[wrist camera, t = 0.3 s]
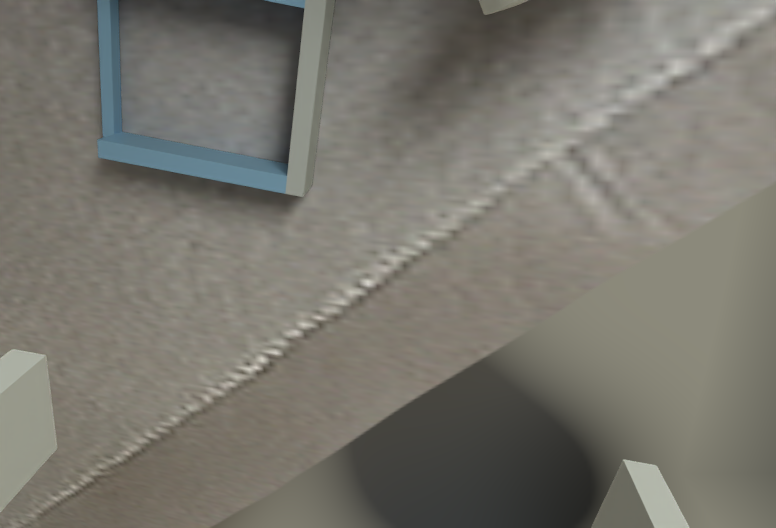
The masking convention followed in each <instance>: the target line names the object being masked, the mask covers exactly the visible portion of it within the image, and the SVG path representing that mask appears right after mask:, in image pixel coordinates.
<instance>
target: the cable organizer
mask: <svg viewBox="0 0 776 528" xmlns="http://www.w3.org/2000/svg"><path fill="white" fill-rule="evenodd" d="M478 1H479V3H480V6H481V8H482V11H483V13H484V15H488V14H492V13H495V12H498V11H502V10H505V9H508V8H511V7H514V6H517V5H519V4H522V3H524V2H526V1H529V0H478Z"/></svg>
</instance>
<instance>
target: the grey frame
mask: <svg viewBox="0 0 776 528" xmlns="http://www.w3.org/2000/svg"><path fill="white" fill-rule="evenodd" d="M264 1H269V2H274V3H279V4H284V5H290V6H295V7H300V8H304V18H303V27H302V37H301V47H300V56H299V66H298V76H297V86H296V95H295V105H294V115H293V124H292V134H291V144H290V153H289V163H288V164H286V163H281V162H276V161H270V160H265V159H260V158H255V157H250V156H245V155H240V154H234V153H229V152H224V151H219V150H214V149H209V148H203V147H198V146H193V145H188V144H183V143H178V142H173V141H167V140H162V139H157V138H152V137H147V136H142V135H136V134H131V133H126V132H122V114H121V77H120V40H119V4H118V0H97V9H98V33H99V56H100V80H101V104H102V128H103V138H101V139H98V158H103V159H108V160H113V161H119V162H124V163H129V164H134V165H139V166H144V167H150V168H155V169H160V170H165V171H170V172H175V173H181V174H186V175H191V176H196V177H201V178H206V179H212V180H217V181H222V182H227V183H232V184H237V185H243V186H248V187H253V188H258V189H263V190H269V191H274V192H279V193H284V194H289V195H294V196H300V197H304V196H305V194H306V193H307V192H308V190H309V189H310V188H311V186H312V183H313V175H314V167H315V159H316V151H317V143H318V135H319V127H320V119H321V111H322V102H323V94H324V86H325V78H326V70H327V62H328V54H329V46H330V38H331V30H332V22H333V14H334V6H335V0H264Z"/></svg>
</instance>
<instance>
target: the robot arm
mask: <svg viewBox="0 0 776 528" xmlns="http://www.w3.org/2000/svg"><path fill="white" fill-rule="evenodd" d="M56 449H57V441H56V432H55V424H54V416H53V408H52V399H51V391H50V383H49V374H48V366H47V358H46V355H43V354H37V353H32V352H26V351H20V350H15V349H12V350H10V351H9V352H8V353H6V354H5V355H4V356H3V357H1V358H0V512H1V511H2V510H3V509H4V508H5V507H6V506H7V505H8V503H9V502H10V501H11V500H12V499H13V498H14V497H15V496H16V494H17V493H18V492H19V491H20V490H21V489H22V488H23V487H24V485H25V484H26V483H27V482H28V481H29V480H30V479H31V478H32V476H33V475H34V474H35V473H36V472H37V471H38V470H39V468H40V467H41V466H42V465H43V464H44V463H45V462H46V461H47V459H48V458H49V457H50V456H51V455H52V454H53V453H54V452H55V450H56ZM591 528H689V526H688V524H687V522H686V520H685V518H684V516H683V514H682V513H681V511H680V509H679V507H678V505H677V503H676V501H675V499H674V498H673V496H672V494H671V492H670V490H669V488H668V486H667V484H666V482H665V480H664V479H663V477H662V475H661V473H660V471H659V469H658V467H657V466H656V465H651V464H646V463H640V462H635V461H629V460H624V459H623V461H622V463H621V465H620V468H619V470H618V472H617V474H616V476H615V478H614V481H613V483H612V484H611V487H610V489H609V491H608V493H607V495H606V497H605V500H604V502H603V504H602V506H601V508H600V510H599V512H598V514H597V516H596V519H595V521H594V523H593V525H592V527H591Z"/></svg>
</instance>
